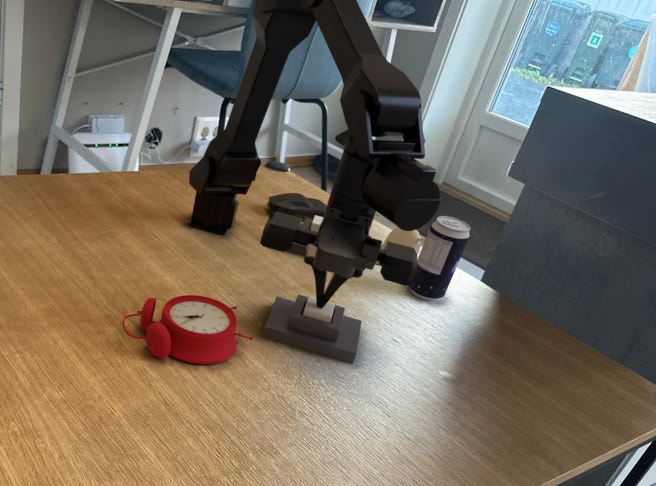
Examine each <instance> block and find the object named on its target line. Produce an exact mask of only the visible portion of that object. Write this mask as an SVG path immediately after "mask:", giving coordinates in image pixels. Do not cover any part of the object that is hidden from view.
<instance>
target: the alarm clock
mask: <svg viewBox="0 0 656 486" xmlns="http://www.w3.org/2000/svg"><path fill="white" fill-rule="evenodd" d="M156 303H157V298H156V297H149V298H147V299H146V300H145V302H144V303H143V306H142V309H141V310H136V313H132V314H127V315H125V316H124V317H123V319H122V323H121V324H122V329H123V331H124V333H126V334H127V335H128V336H129V337H131V338H133V339H137V340H145V342H146V345H147V348H148V350H149V352H150V353H151V355H153V357H156V358H158V359H165V358H167V357H169V356H171V357H173V358H175V359H177V360H180V361H183V362H186V363H191V364H198V365H212V364H213V365H214V364H218V363H222V362H225V361H227V360H229V359H230V358H231V357H232V356H234V354H235V353H236V351H237V347H238V342H239V341H238V339H237V337H239V338H240V337H241V338H244V339H248V340H249V341H253V340H254V337H253V336H248V335H244V334H241V333H238V332H236V330H237V326H238V321H237V320H238V319H237V315H236V313H235V312H234V311H233V310H237V309H238V307H237V306H236V305H234V306H232V307H229V306H228V305H226V304H225V303H223V302H222V301H220V300H218V299H215V298H211V297H209V296H204V295H198V294H185V295H178V296H175V297H172V298H170V299H169V300H167V301H166V302H165V304H164V306H163V307H162V309H161V310H162V311H161V318H160V320H159V321H154V315H155V309H156ZM137 316H140V328H141V329H142V331H144V332H145V337H144V336H137V335H134V334H132V333H130V332H129V331H128V330H127V328H126V324H125V321H126V320H127V319H128V318H131V317H137Z"/></svg>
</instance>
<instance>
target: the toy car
mask: <svg viewBox="0 0 656 486" xmlns="http://www.w3.org/2000/svg"><path fill="white" fill-rule="evenodd" d="M266 204H267V208H268V209H269V210H270V211H271V212H272V213H274V212H276V211H277V212H280V213H284V214H288V215H292V216H295V217H299V218H302V219H301V222H304V220H305V218H309V219H314V217H315V215H317V216H320V217H324V214H325V210H326V207H327V203H325V202H323V201H322V200H321V199H318V198H313V197H306V196H305V195H304V194H302V193H299V192H286V193H280V194H276V195H271V196H269V197H268V201H267V203H266Z"/></svg>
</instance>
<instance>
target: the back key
mask: <svg viewBox="0 0 656 486" xmlns="http://www.w3.org/2000/svg"><path fill="white" fill-rule="evenodd" d="M322 220H323V217H320V216H317V215H315V217H314V219H313V222H312V225H311V229H310V230H311V231H315V232H318V231H319V227H320V224H321V222H322Z"/></svg>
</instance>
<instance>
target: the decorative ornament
mask: <svg viewBox="0 0 656 486" xmlns="http://www.w3.org/2000/svg"><path fill="white" fill-rule="evenodd" d="M425 239H426V237H422V236H421V235H420V232H419V231H418V229H417V230H413V231H404V230H401V229H400V228H398V227H397V226H396V227H395V228H393V229H392V230H391V231H390V232H389V233H388V235H387V236H386V238H385V239H384V242H382V244H381V248H380V249H381V250H384V248H385V245H386V243H387V241H389V242H392V243H396V244H400V245H404V246H407V247H411V248H414V249H415V251H416V253H417V255H418V254H420V250H421V248H422V247H421V246H423V245H424V242H425Z"/></svg>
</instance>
